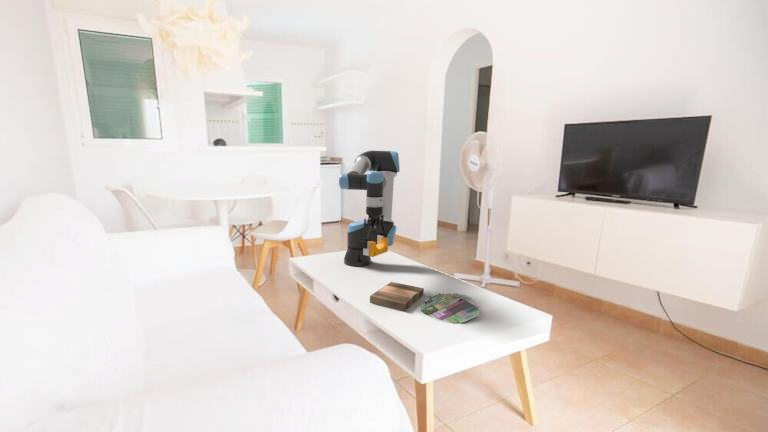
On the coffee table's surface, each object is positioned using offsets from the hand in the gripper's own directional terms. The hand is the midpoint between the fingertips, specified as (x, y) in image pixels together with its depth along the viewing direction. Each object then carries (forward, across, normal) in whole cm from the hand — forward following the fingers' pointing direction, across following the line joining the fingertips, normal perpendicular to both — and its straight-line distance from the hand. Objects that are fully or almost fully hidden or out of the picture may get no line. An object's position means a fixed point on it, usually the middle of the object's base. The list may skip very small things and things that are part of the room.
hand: (373, 252), depth 172 cm
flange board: (+16, -8, -17) cm, 25 cm away
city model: (+17, -8, -40) cm, 44 cm away
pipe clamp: (+1, 0, -2) cm, 2 cm away
